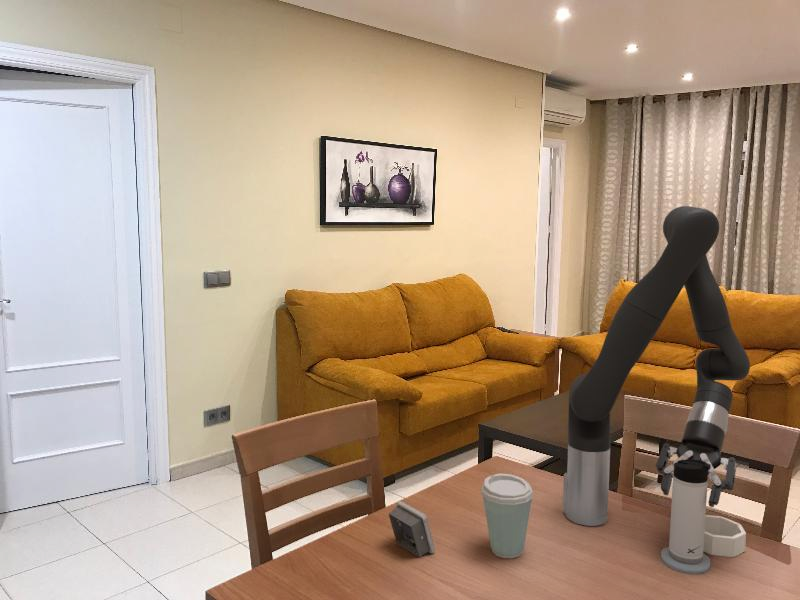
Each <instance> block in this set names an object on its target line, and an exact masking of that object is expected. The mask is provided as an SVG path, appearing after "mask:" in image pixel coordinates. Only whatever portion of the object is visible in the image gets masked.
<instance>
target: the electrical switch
mask: <svg viewBox="0 0 800 600" xmlns="http://www.w3.org/2000/svg"><path fill="white" fill-rule="evenodd" d="M395 506H396V507H394V508H393V509H392V510H391V511H390V512H388V517H389V520H390V524H391V528H392V531H393V536H394V538H395V542H396V544H398V545H399V546H401V547H402V546H403V547H402V548H404V549H405V550H406V551H408V552H409V553H410V552H411V554H413V555H414V556H416V557H417V558H421V557H422V556H424V555H425V554H427V553H429V554H431V555H432V554H434V553H435V551H436V547H435V544H434V543H435V542H434V539H433V536H432V531H431V528H430V524H429V520H428V517H427V515H426V514H425V513H424V512H422V511H419V510H418V509H416V508H414V507H412V506H411V505H409V504H406V503H405V502H403V501H402V500H398V501H397V502H395Z"/></svg>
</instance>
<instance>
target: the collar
mask: <svg viewBox="0 0 800 600" xmlns="http://www.w3.org/2000/svg"><path fill="white" fill-rule="evenodd" d="M746 540H747V532H746V531H745V529H744V528H743V525H741V523H739V522H737V521H734V520H731V519H730V518H726V517H725V516H720V515H709V514H706V516H705V532H704V548H703V553H707V554H708V555H710V556H718V557H727V558H735V557H737V556H739V555H741V554H744V553H745V552H746V543H747V541H746ZM743 552H744V553H743Z"/></svg>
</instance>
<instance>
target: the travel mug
mask: <svg viewBox="0 0 800 600" xmlns="http://www.w3.org/2000/svg"><path fill="white" fill-rule="evenodd" d="M710 468H711V465H710V464H708V463H706V462H704V461H700V460H693V459H685V460H679V461H678V462H676V463H675V464H674V474H673V477H672V489H671V491H672V492H671V509H670V525H669V526H670V527H669V543H668V547H669V555H670V556H671V557H672V558H673V559H675V560H677V561H679V562H681V563H685V564H698V563H700V562H701V561H702V560H703V554H704V551H703V548H704V532H705V516H706V515H707V514H706V512H707V501H708V500H707V498H708V482H709V481H708V479H709V478H708V477H709V476H708V470H709V469H710Z"/></svg>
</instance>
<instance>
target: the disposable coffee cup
mask: <svg viewBox="0 0 800 600" xmlns="http://www.w3.org/2000/svg"><path fill="white" fill-rule="evenodd" d="M532 487H533V486H531V485H530V483H529V482H527V481H526V480H525V479H524V478H522V477H520V476H517V475H514V474H509V473H495V474H491V475H488V476H487V477H486V478H485V479H484V480H483V483H482V485H481V489H480V490H481V491H480V495H481V496H482V500H483V505H484V510H485V518H486V525H487V531H488V537H489V542H490V543H489V544H490V545H489V546H490V549H491V551H492V553H493V554H494V555H495V556H497V557H500V558H502V559H515V558H519V557H520V556H521V555H522V554H523V551H524V549H525V545H526V544H525V543H526V536H527V530H528V525H529V524H528V523H529V519H530V512H531V506H532V501H533V500H532V499H533V498H534V494H533V488H532Z"/></svg>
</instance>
